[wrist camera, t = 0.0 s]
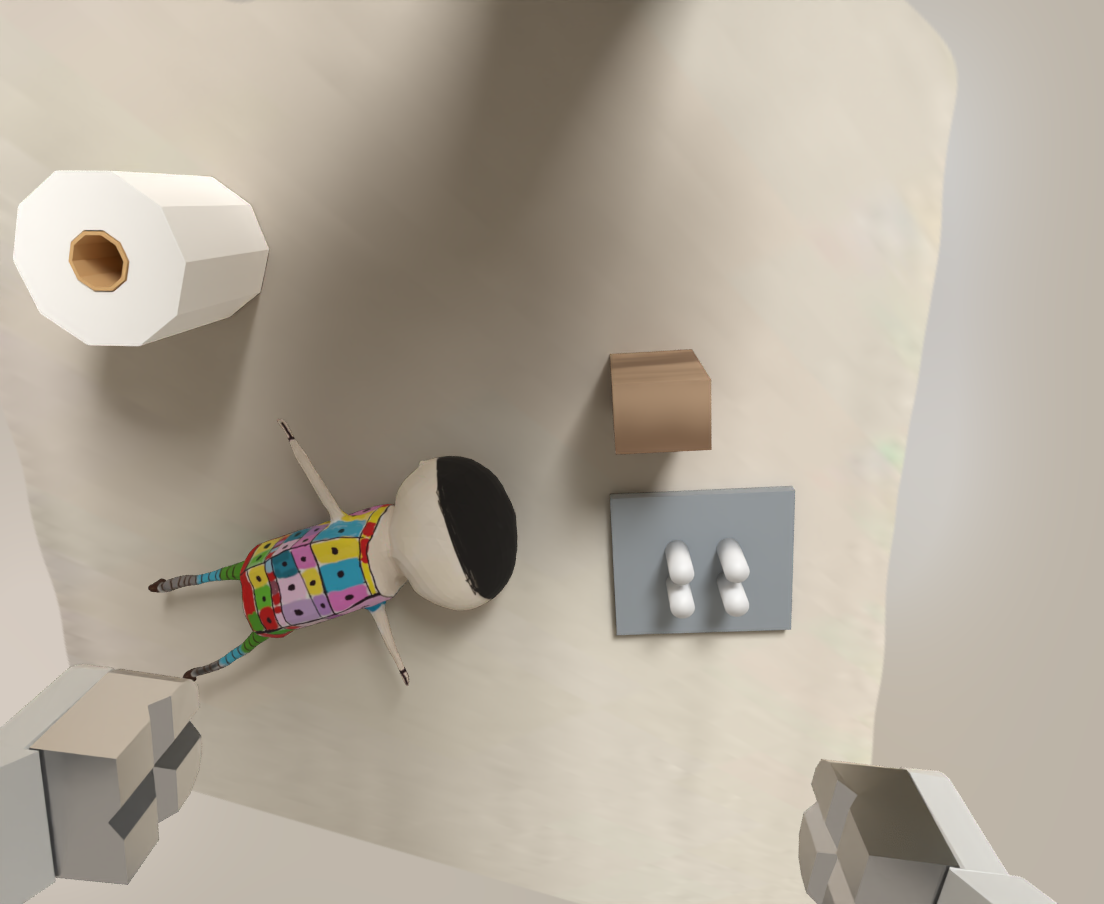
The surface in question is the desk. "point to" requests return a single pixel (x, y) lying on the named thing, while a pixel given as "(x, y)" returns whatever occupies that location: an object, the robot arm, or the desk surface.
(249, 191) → the desk surface
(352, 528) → the toy
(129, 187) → the toilet paper
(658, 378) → the block
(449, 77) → the desk surface
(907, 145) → the desk surface
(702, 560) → the stand
